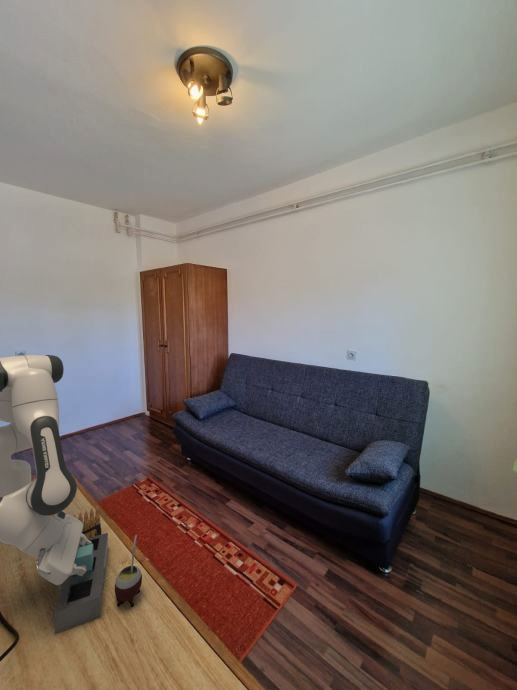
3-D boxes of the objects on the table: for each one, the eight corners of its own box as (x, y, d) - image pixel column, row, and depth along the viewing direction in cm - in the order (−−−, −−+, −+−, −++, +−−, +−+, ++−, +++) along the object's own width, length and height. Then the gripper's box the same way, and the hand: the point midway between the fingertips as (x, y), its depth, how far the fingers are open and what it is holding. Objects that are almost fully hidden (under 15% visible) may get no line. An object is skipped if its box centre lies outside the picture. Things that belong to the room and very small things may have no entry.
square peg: (78, 578, 83) (77, 547, 82) (94, 573, 85) (93, 543, 84) (76, 590, 80) (75, 558, 79) (92, 585, 81) (91, 553, 80)
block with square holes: (74, 558, 91) (73, 541, 91) (108, 548, 95) (107, 532, 95) (54, 633, 69) (54, 612, 69) (100, 617, 74) (99, 597, 73)
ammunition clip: (67, 553, 93) (65, 520, 92) (65, 550, 94) (64, 517, 93) (101, 536, 101) (100, 505, 100) (100, 533, 102) (99, 503, 101)
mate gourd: (119, 617, 74) (118, 566, 72) (110, 595, 79) (109, 547, 78) (147, 598, 79) (147, 550, 78) (137, 579, 85) (136, 534, 83)
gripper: (43, 557, 68) (90, 579, 73) (63, 505, 87) (99, 525, 92) (22, 580, 67) (71, 600, 72) (46, 522, 85) (84, 542, 90)
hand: (87, 558), depth 82 cm, fingers open, 8 cm apart
